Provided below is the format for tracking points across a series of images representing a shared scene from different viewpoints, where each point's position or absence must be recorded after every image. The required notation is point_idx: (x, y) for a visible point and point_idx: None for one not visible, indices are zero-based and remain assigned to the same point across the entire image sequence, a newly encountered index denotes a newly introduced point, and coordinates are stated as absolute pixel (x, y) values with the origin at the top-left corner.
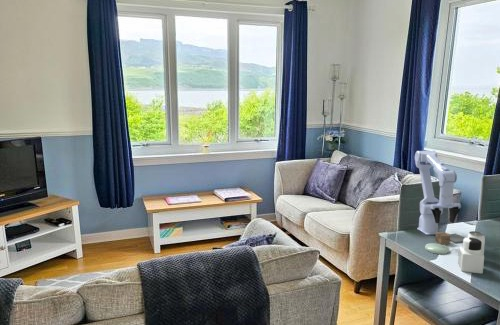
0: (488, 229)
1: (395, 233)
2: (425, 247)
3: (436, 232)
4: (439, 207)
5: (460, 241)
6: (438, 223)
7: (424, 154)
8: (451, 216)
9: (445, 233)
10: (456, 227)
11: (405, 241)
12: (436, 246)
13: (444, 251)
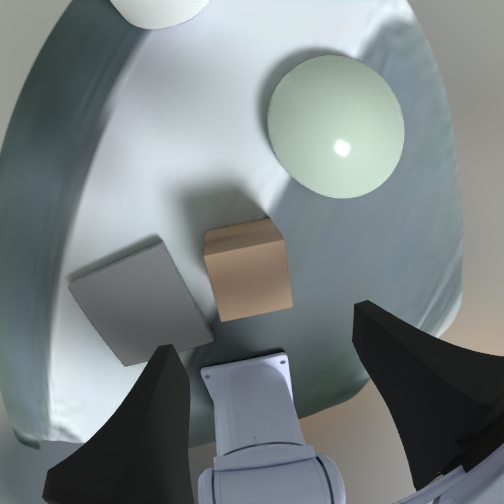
0: (13, 389)
1: None
2: (400, 143)
3: (287, 307)
4: (447, 492)
5: (124, 259)
6: (360, 303)
7: None
8: (175, 423)
9: (225, 294)
10: None
11: (430, 252)
12: (341, 140)
13: (324, 57)
